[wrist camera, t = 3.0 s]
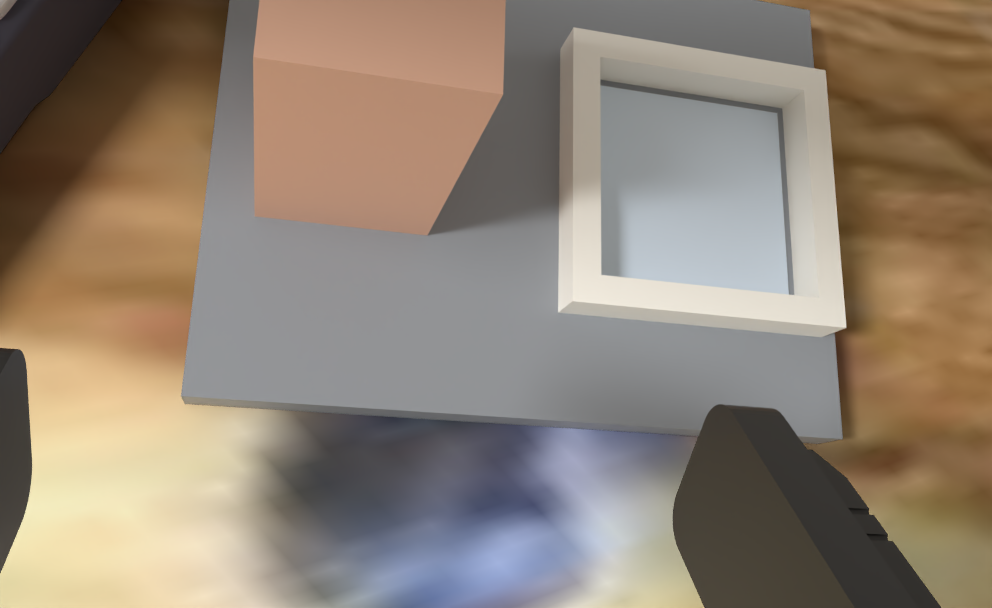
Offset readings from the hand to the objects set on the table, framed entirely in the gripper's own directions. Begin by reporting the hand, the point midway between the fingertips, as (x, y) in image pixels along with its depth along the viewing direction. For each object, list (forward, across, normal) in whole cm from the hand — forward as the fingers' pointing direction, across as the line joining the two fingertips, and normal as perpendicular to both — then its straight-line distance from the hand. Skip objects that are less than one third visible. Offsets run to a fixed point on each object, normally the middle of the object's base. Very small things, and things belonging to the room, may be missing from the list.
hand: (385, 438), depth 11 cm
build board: (+16, -6, +3) cm, 17 cm away
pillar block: (+15, 0, +2) cm, 15 cm away
